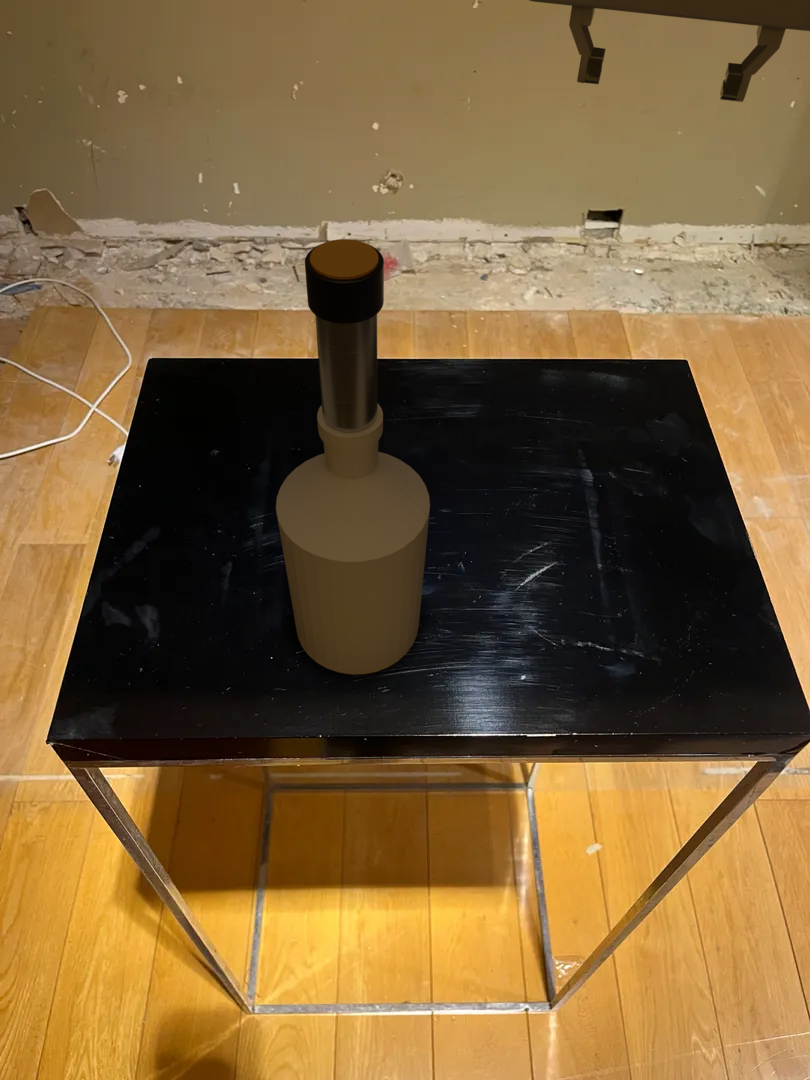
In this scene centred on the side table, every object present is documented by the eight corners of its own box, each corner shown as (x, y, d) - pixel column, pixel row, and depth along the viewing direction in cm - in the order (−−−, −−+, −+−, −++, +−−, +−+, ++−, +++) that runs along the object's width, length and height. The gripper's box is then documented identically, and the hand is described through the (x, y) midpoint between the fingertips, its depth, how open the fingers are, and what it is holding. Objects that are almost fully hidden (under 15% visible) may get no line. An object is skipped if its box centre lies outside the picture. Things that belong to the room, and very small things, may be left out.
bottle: (440, 656, 74) (461, 453, 55) (312, 693, 71) (287, 494, 52) (397, 558, 81) (403, 348, 62) (279, 588, 78) (246, 379, 59)
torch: (390, 399, 58) (392, 242, 49) (373, 442, 55) (371, 284, 46) (328, 388, 59) (318, 231, 50) (307, 430, 56) (293, 272, 47)
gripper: (525, -188, 44) (497, 88, 55) (929, -158, 41) (818, 127, 52) (542, -205, 48) (513, 54, 59) (911, -179, 45) (811, 89, 56)
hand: (658, 89), depth 55 cm, fingers open, 8 cm apart
